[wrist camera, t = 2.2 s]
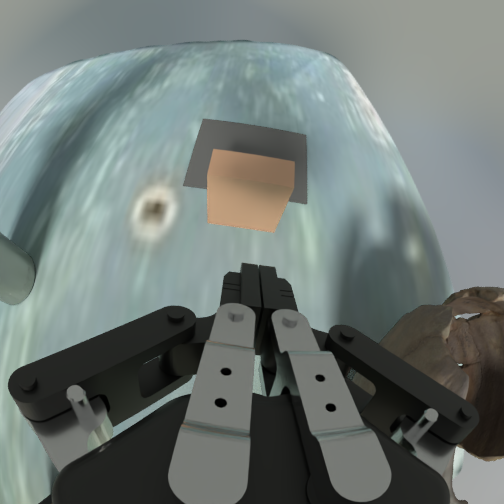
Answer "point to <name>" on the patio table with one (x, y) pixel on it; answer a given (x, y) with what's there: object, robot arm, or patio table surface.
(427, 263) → the patio table surface
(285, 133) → the charcoal mat
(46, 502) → the ammunition clip
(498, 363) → the clay pot
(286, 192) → the peach block
